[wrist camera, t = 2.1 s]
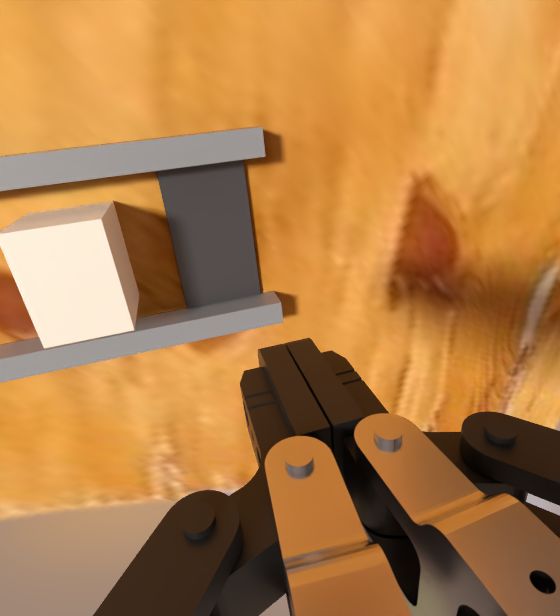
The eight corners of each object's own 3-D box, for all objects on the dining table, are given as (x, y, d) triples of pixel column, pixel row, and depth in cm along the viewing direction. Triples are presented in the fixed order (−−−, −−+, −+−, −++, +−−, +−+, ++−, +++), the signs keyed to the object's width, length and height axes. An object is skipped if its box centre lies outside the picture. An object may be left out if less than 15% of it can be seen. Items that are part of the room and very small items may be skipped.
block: (113, 200, 23) (101, 218, 19) (139, 294, 26) (134, 330, 21) (29, 212, 22) (-5, 234, 18) (65, 308, 25) (43, 348, 20)
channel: (254, 126, 23) (262, 126, 21) (276, 310, 28) (283, 322, 27) (-144, 172, 19) (-175, 177, 18) (-35, 373, 25) (-50, 393, 23)
